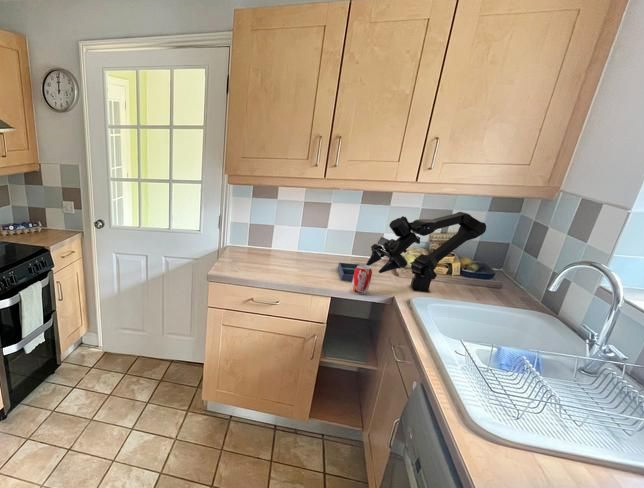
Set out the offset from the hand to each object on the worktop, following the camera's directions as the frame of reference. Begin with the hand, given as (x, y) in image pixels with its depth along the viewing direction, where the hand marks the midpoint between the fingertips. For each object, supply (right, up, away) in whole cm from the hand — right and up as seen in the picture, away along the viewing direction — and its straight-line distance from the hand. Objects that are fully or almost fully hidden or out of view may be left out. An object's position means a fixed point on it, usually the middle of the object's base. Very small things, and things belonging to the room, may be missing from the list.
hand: (372, 268), depth 180 cm
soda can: (-4, -10, +4) cm, 12 cm away
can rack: (+2, -1, +24) cm, 24 cm away
